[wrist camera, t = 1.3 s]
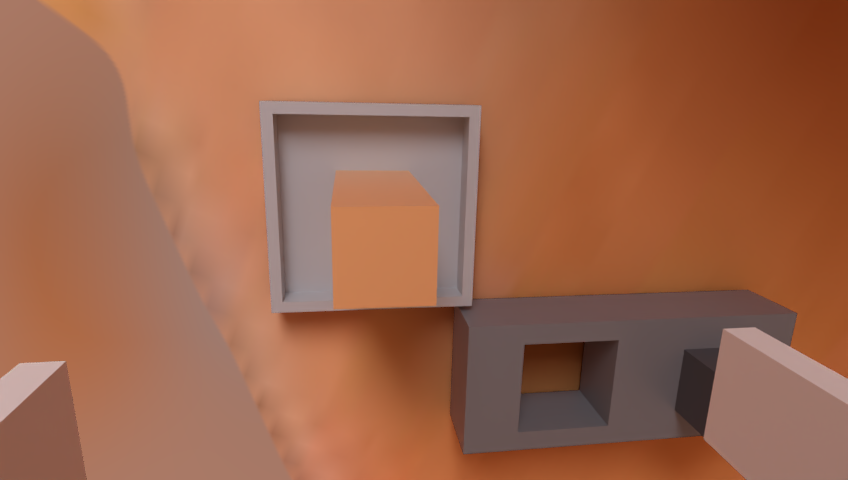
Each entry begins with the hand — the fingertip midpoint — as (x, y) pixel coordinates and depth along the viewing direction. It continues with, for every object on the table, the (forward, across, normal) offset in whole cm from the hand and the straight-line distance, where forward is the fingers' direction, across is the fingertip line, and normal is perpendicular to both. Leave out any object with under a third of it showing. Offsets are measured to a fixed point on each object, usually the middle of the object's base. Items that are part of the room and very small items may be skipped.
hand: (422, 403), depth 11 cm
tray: (+20, 0, 0) cm, 20 cm away
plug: (+20, 0, 0) cm, 20 cm away
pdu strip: (+20, +15, -10) cm, 27 cm away
